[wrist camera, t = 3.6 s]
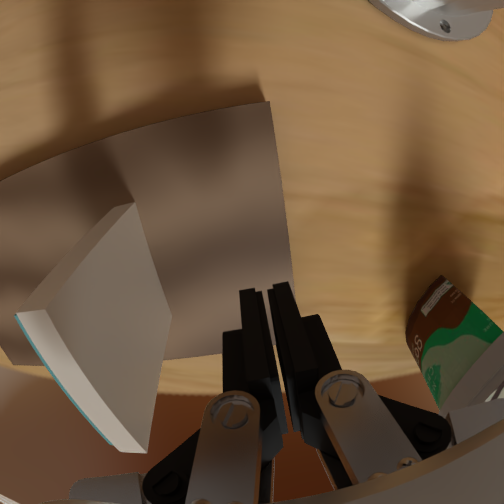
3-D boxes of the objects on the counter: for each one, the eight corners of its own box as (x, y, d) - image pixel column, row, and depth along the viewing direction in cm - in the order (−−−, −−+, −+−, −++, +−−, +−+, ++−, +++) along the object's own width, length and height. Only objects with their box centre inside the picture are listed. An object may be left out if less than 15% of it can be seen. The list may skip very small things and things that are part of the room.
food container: (369, 313, 20) (434, 427, 11) (436, 261, 19) (527, 351, 10) (414, 382, 25) (456, 462, 16) (464, 345, 23) (515, 417, 14)
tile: (107, 208, 14) (7, 314, 6) (135, 201, 14) (44, 309, 6) (147, 319, 17) (112, 451, 9) (172, 316, 17) (147, 453, 9)
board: (-51, 210, 14) (-61, 215, 13) (266, 102, 14) (269, 101, 13) (18, 356, 20) (13, 364, 19) (295, 328, 20) (299, 340, 19)
